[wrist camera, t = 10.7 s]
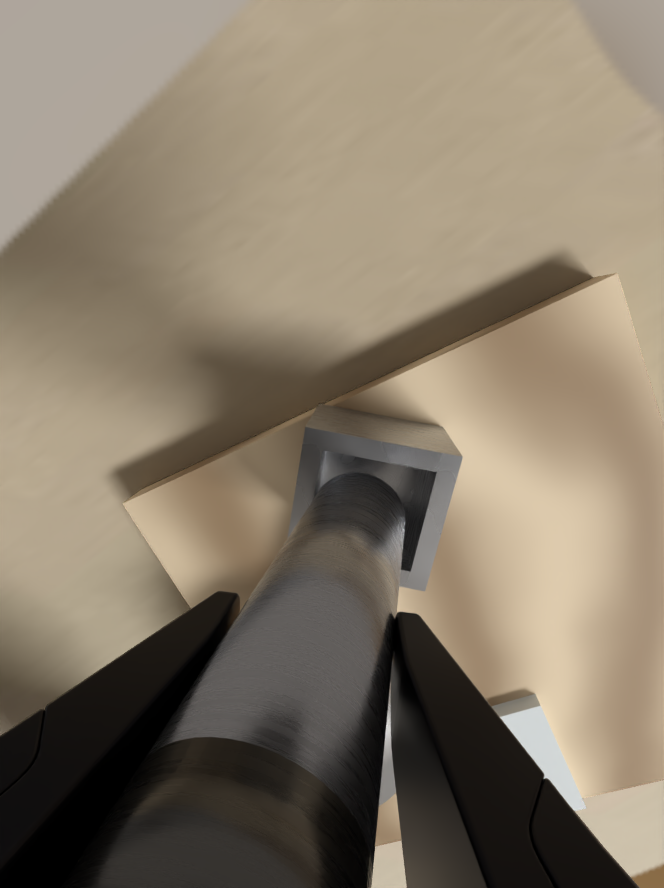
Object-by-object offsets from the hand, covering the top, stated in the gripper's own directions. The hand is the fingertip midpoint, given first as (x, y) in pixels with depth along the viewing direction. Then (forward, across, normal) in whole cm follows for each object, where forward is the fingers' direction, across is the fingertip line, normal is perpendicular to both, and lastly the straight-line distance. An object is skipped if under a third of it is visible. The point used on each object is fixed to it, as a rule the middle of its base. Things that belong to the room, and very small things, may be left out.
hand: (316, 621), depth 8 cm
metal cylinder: (+5, -1, 0) cm, 5 cm away
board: (+10, -5, +7) cm, 13 cm away
